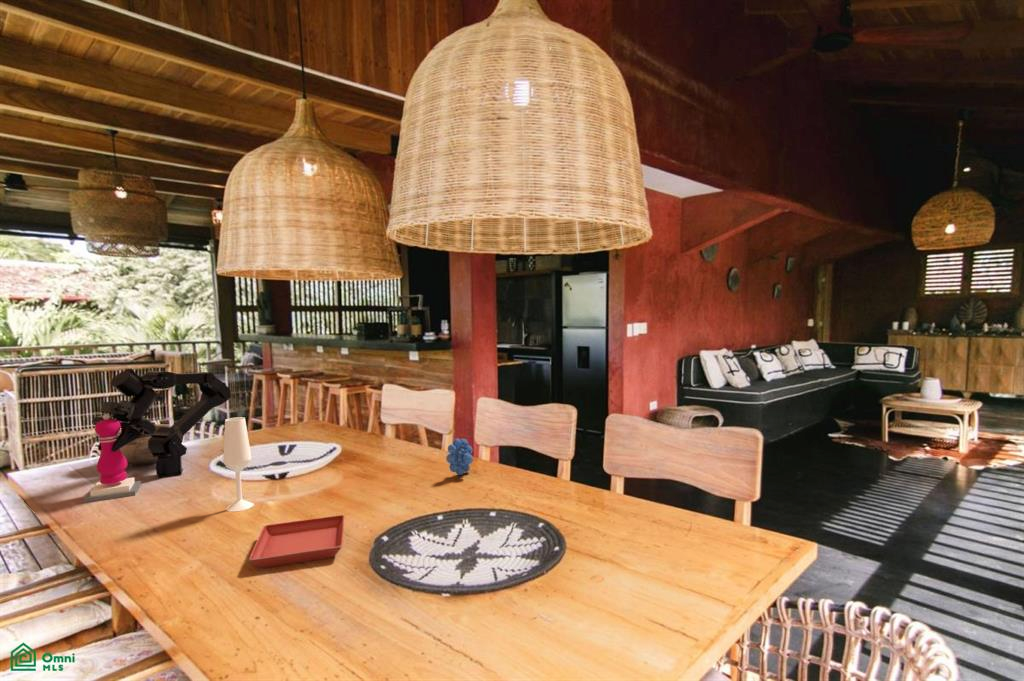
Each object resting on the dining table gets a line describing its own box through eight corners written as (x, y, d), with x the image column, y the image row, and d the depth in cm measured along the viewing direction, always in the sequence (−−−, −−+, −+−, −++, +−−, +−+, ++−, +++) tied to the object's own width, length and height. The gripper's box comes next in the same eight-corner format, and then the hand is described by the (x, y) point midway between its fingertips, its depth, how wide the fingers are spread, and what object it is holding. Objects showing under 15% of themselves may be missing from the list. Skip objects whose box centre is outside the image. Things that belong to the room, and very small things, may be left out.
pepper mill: (103, 486, 150) (95, 418, 148) (94, 481, 154) (86, 414, 152) (132, 478, 156) (125, 412, 153) (123, 474, 160) (116, 409, 158)
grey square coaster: (141, 484, 163) (140, 475, 163) (135, 495, 153) (134, 485, 153) (92, 491, 158) (92, 482, 157) (83, 503, 148) (82, 493, 148)
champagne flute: (242, 512, 138) (237, 422, 137) (219, 510, 140) (214, 421, 138) (259, 502, 145) (254, 416, 144) (237, 501, 146) (233, 416, 145)
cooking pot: (96, 465, 185) (93, 431, 184) (155, 452, 201) (153, 421, 200) (129, 476, 172) (126, 439, 171) (190, 461, 188) (188, 427, 187)
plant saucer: (248, 575, 106) (247, 559, 106) (264, 538, 123) (263, 524, 123) (343, 561, 111) (342, 546, 111) (345, 527, 128) (344, 514, 128)
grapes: (458, 482, 158) (457, 443, 157) (442, 479, 162) (440, 440, 161) (482, 472, 168) (481, 435, 167) (466, 469, 172) (465, 432, 171)
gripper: (95, 389, 159) (58, 434, 149) (143, 390, 154) (109, 437, 144) (122, 410, 167) (89, 454, 157) (169, 411, 162) (138, 457, 152)
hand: (105, 450), depth 153 cm, fingers closed on pepper mill, 5 cm apart
